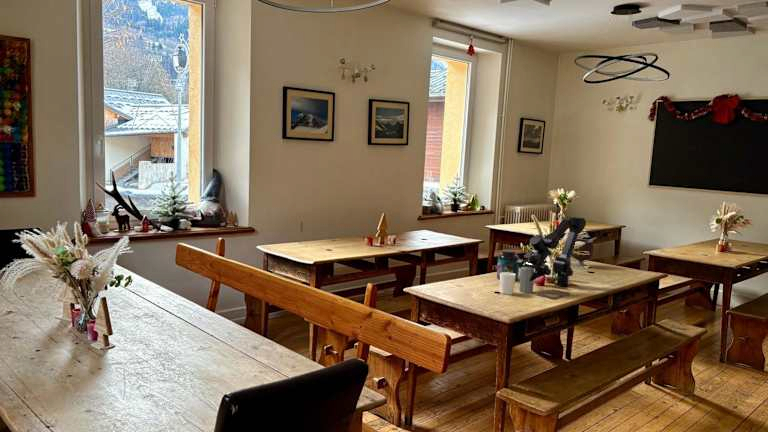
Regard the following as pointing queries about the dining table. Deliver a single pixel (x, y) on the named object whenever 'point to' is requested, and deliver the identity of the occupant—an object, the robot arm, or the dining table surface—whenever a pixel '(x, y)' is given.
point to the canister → (526, 280)
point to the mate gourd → (586, 247)
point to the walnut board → (552, 294)
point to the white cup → (507, 283)
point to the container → (508, 263)
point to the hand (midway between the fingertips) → (524, 279)
